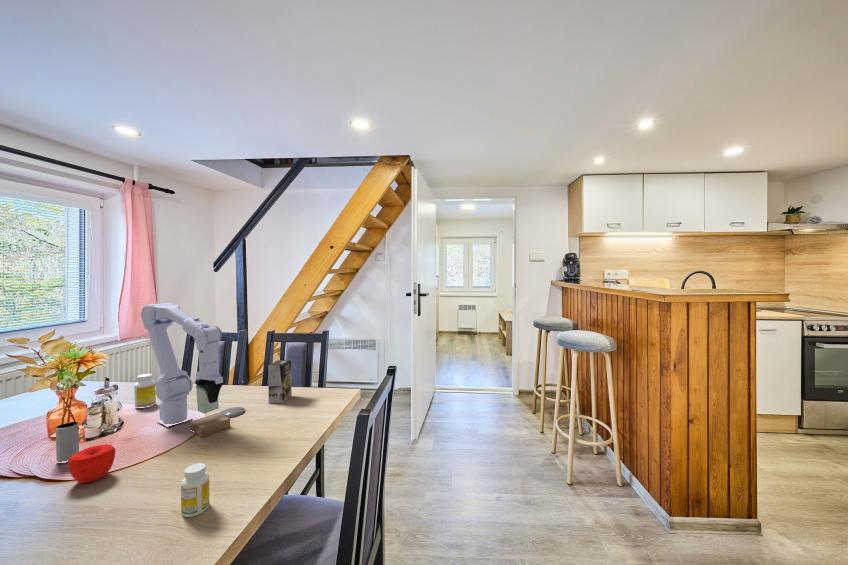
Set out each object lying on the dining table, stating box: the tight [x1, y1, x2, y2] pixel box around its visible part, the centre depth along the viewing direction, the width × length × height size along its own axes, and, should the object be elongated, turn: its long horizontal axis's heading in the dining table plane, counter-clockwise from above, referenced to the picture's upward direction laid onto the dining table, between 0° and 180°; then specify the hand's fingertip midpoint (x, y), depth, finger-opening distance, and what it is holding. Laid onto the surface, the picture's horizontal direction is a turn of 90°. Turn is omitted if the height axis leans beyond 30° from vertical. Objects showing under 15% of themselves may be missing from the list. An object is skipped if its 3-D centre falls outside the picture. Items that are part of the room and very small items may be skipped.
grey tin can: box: [55, 421, 80, 462], centre depth 97 cm, size 4×4×10 cm
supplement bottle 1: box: [133, 373, 157, 408], centre depth 138 cm, size 7×7×13 cm
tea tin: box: [195, 382, 220, 414], centre depth 116 cm, size 5×5×9 cm
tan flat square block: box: [189, 412, 231, 438], centre depth 117 cm, size 9×9×3 cm
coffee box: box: [267, 359, 293, 404], centre depth 144 cm, size 9×6×16 cm
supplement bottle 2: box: [180, 462, 210, 518], centre depth 76 cm, size 5×5×10 cm
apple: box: [67, 443, 116, 484], centre depth 88 cm, size 9×9×8 cm
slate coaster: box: [218, 406, 246, 419], centre depth 130 cm, size 9×9×1 cm
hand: (209, 400), depth 117 cm, fingers closed on tea tin, 5 cm apart
